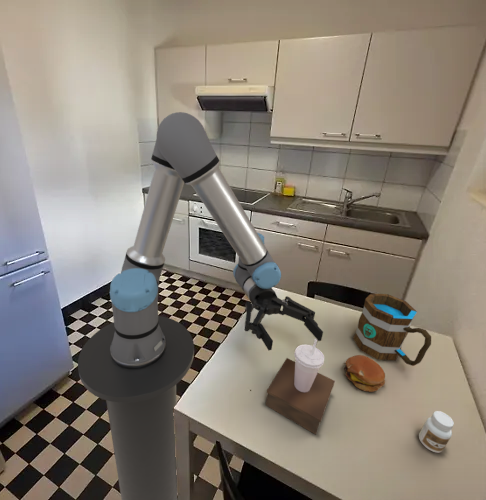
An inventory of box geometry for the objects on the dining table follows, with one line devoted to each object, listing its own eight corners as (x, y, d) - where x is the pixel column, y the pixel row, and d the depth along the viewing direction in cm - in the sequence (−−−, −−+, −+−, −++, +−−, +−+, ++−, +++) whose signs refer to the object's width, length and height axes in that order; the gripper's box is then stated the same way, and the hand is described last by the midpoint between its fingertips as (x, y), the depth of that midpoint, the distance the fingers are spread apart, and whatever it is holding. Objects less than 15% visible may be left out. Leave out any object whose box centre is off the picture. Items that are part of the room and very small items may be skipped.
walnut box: (264, 405, 66) (266, 390, 64) (284, 371, 75) (286, 357, 74) (316, 436, 60) (321, 420, 58) (330, 395, 69) (335, 380, 67)
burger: (381, 371, 77) (385, 359, 75) (383, 398, 69) (389, 385, 68) (343, 359, 81) (347, 347, 79) (341, 383, 73) (345, 370, 71)
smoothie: (312, 402, 62) (324, 354, 56) (284, 388, 65) (294, 341, 59) (319, 382, 67) (331, 336, 61) (293, 370, 70) (303, 325, 64)
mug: (343, 335, 91) (355, 296, 85) (373, 327, 95) (386, 289, 89) (398, 383, 74) (417, 339, 68) (431, 370, 79) (451, 328, 73)
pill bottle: (421, 449, 59) (435, 424, 56) (415, 429, 62) (427, 405, 59) (446, 456, 57) (461, 432, 54) (438, 436, 61) (451, 412, 58)
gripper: (294, 299, 90) (336, 344, 71) (220, 308, 82) (246, 362, 64) (297, 278, 87) (343, 320, 68) (221, 287, 79) (249, 336, 61)
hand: (296, 341), depth 66 cm, fingers open, 13 cm apart
